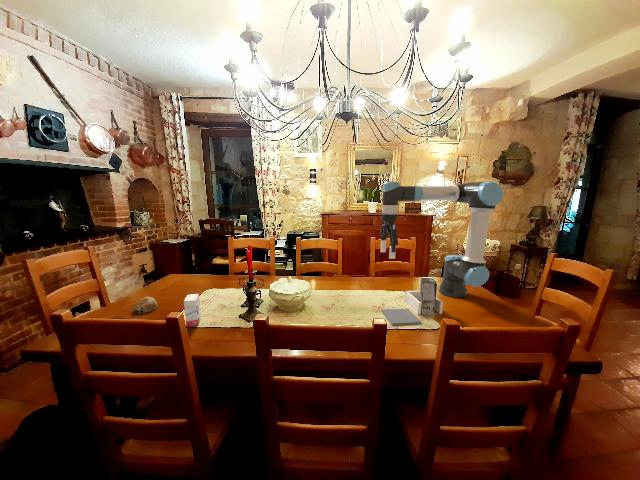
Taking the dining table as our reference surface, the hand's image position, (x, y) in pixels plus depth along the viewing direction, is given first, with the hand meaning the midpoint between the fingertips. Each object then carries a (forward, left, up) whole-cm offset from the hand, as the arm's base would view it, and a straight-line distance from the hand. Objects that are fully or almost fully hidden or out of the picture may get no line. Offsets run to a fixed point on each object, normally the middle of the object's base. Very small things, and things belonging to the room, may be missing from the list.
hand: (387, 255), depth 135 cm
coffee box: (-19, +8, -27) cm, 34 cm away
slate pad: (-3, +14, -27) cm, 31 cm away
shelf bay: (-19, +4, -27) cm, 33 cm away
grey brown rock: (+121, -4, -28) cm, 124 cm away
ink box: (+93, +11, -28) cm, 98 cm away
